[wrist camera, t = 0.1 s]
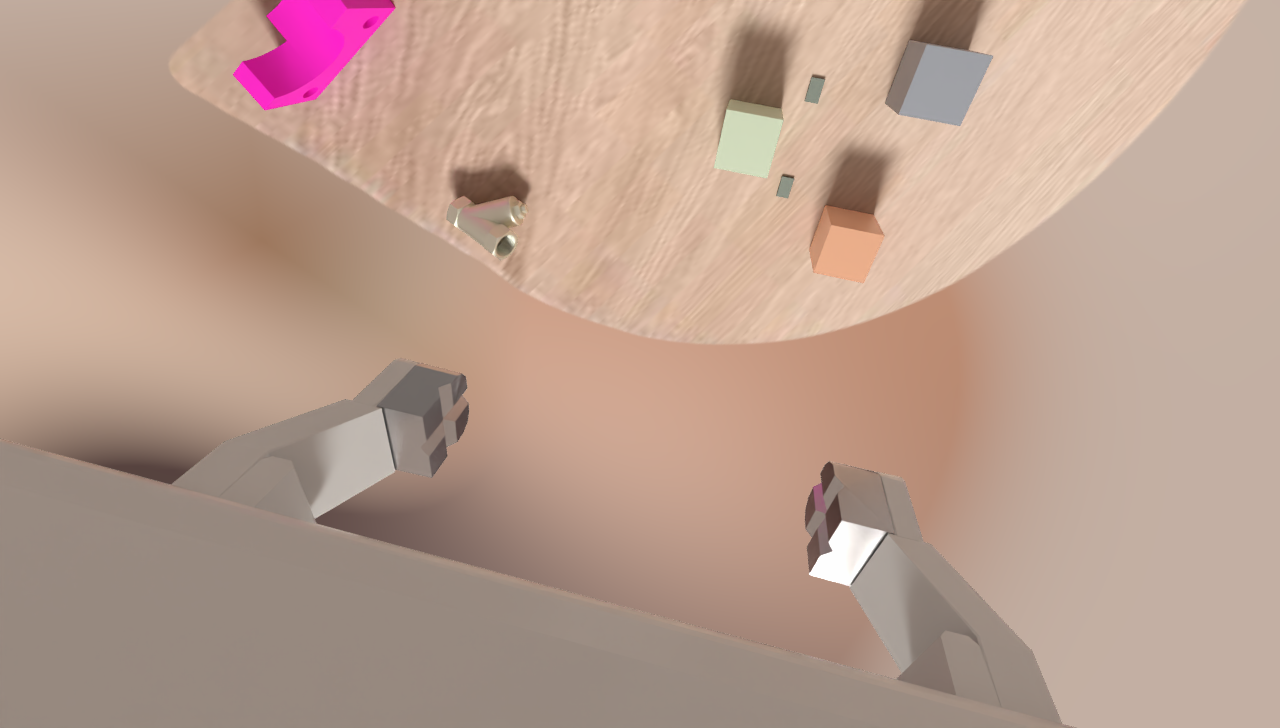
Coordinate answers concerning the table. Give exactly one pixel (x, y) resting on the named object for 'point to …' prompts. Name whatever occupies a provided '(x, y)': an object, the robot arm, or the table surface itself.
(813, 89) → the small gray-green block
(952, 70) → the slate block
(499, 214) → the pipe fitting
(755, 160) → the sage block
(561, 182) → the table surface
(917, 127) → the table surface
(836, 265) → the terracotta block
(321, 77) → the magenta curved bracket
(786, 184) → the tape mark far
